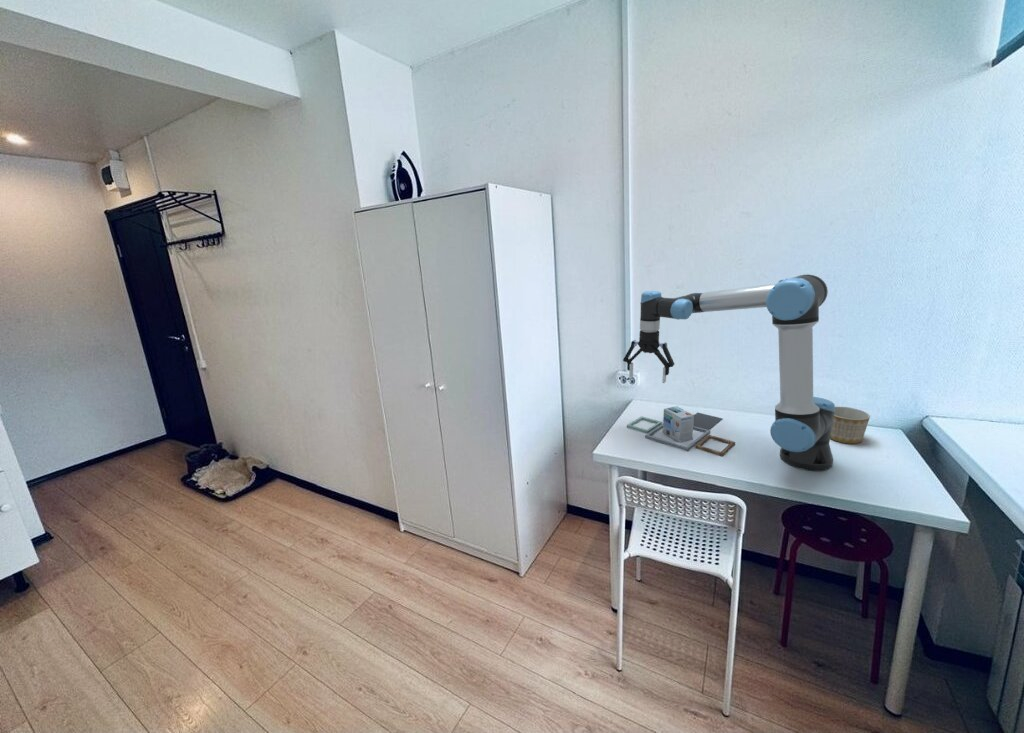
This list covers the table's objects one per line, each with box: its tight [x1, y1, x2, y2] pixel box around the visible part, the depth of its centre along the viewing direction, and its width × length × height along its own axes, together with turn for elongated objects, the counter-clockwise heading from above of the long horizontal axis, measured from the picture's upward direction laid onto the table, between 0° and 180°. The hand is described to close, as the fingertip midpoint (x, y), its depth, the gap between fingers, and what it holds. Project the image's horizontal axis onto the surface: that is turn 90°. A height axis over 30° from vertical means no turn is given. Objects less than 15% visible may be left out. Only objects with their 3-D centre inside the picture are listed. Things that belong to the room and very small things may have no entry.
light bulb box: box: [662, 405, 695, 443], centre depth 166 cm, size 11×7×11 cm, turn 17°
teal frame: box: [626, 415, 663, 434], centre depth 178 cm, size 10×12×1 cm
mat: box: [693, 412, 723, 431], centre depth 178 cm, size 11×15×1 cm
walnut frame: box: [694, 434, 736, 457], centre depth 157 cm, size 10×12×1 cm
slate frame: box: [644, 423, 711, 452], centre depth 168 cm, size 18×20×1 cm
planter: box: [830, 406, 871, 445], centre depth 154 cm, size 13×13×10 cm
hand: (647, 380), depth 170 cm, fingers open, 13 cm apart
